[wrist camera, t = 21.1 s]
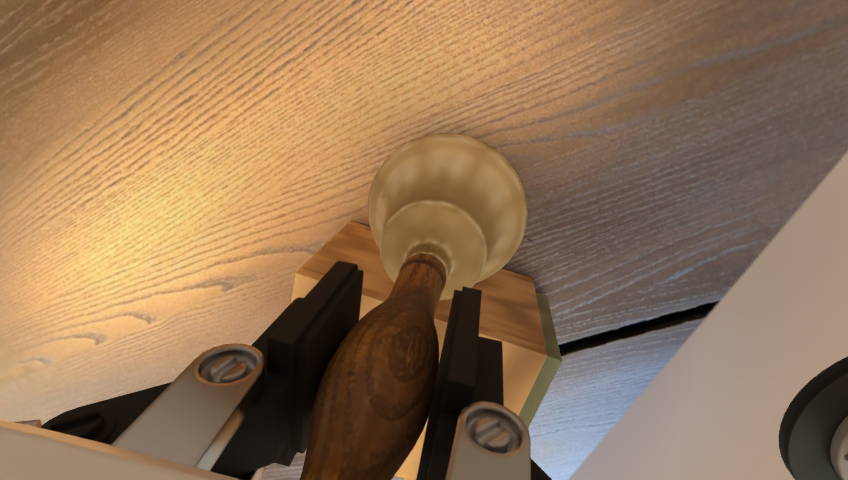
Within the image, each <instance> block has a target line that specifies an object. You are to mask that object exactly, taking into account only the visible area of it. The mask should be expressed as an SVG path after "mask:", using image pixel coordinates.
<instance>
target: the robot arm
mask: <svg viewBox="0 0 848 480" xmlns="http://www.w3.org/2000/svg"><path fill="white" fill-rule="evenodd" d="M363 276H364V273H363V270H358V265H357V264H353V263H348V262H343V261H339V260H338V261H337V262H336V263H335V264H334V265H333V266H332V267H331V268H330V270H329V271H328V272H327V273H326V274H325V275H324V276H323V277H322V278H321V280H320V281H319V282H318V283H317V284H316V285H315V286H314V287H313V288H312V289H311V291H310V292H309V293H308V294H307V295H306V296H305V297H304V298H302V297H298V298H296V299H295V300H294V301H293V302H292V303H291V304H290V305H289V306H288V307H287V308H286V309H285V310H284V312H283V313H282V314H281V315H280V316H279V317H278V318H277V319H276V320H275V321H274V322H273V323H272V324H271V325H270V326H269V327H268V329H267V330H266V331H265V332H264V333H263V334H262V335H261V336H260V337H259V338H258V339H257V340H256V341H255V342H254V343H253V344H252V346H249V345H246V344H236V343H235V344H225V345H221V346H217V347H214V348H212V349H209V350H207V351H205V352H203V353H202V354H201V355H200V356H198V357H197V358H196V359H195V360H194V361H193V362H192V363H191V364H190V365H189V366H188V367H187V368H186V369H185V370H184V371H183V372H182V373H181V374H180V375H179V376H178V377H177V378H176V379H175V380H174V381H173V382H171V383H167V384H164V385H160V386H156V387H152V388H149V389H145V390H141V391H138V392H134V393H130V394H126V395H123V396H119V397H115V398H112V399H108V400H104V401H100V402H97V403H93V404H89V405H86V406H82V407H78V408H76V409H73V410H70V411H67V412H64V413H62V414H60V415H58V416H56V417H55V418H53V419H51V420H49V421H48V422H46V423H45V424H44V425H41V421H40V420H31V421H21V422H10V421H5V420H0V480H261V479H262V477H263V474H264V471H265V466H267V465H270V464H272V463H278V464H282V465H286V466H290V464H291V462H292V460H293V458H294V456H295V455H296V453H297V452H299V453H304V452H305V450H306V448H307V445H308V434H309V425H310V419H311V414H312V409H313V405H314V400H315V397H316V393H317V390H318V386H319V383H320V381H321V379H322V376H323V374H324V372H325V369H326V367H327V365H328V363H329V361H330V360H331V358H332V356H333V355H334V353H335V352H336V350H337V348H338V347H339V345H340V343H341V342H342V341H343V339H344V338H345V337H346V335H347V334H348V333H349V332H350V330H351V329H352V328H353V327H354V325H355V324H356V323H357V322H358V321H359V316H360V306H361V296H362V286H363ZM481 295H482V290H478V289H474V288H469V287H464V286H463V288H462V291H459V290H454V294H453V299H452V304H451V309H450V314H449V318H448V323H447V328H446V333H445V338H444V342H443V347H442V352H441V357H440V362H439V366H438V371H437V376H436V381H435V386H434V391H433V396H432V402H431V407H430V412H429V417H428V422H427V427H426V432H425V437H424V443H423V448H422V453H421V458H420V463H419V468H418V473H417V478H416V480H552V479H551V478H550V477H549V476H548V475H547V474H546V473H545V472H544V471H543V470H542V469H541V468H540V467H539V466H538V465H537V464H536V463H535V462H534V461H533V460H532V459H531V458H530V436H529V431H528V429H527V427H526V425H525V423H524V422H523V420H522V419H521V418H520V417H519V416H518V415H517V414H516V413H514V412H513V411H511V410H510V409H508V408H507V407H505V406H504V393H503V346H502V341H498V340H493V339H489V338H484V337H480V336H479V322H480V308H481ZM830 456H831V462H832V465H833V467H834V469H835V471H836V473H837V474H838V475H839V476H840V478H841V479H842V480H848V415H847V416H846V418H845V419H844V420H843V421H842V423H841V424H840V425H839V426H838V428H837V430H836V432H835V434H834V436H833V438H832V442H831V447H830Z"/></svg>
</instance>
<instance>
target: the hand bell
mask: <svg viewBox="0 0 848 480" xmlns="http://www.w3.org/2000/svg"><path fill="white" fill-rule="evenodd" d="M368 218H369V224H370V228H371V232H372V234H373V237H374V239H375V241H376V243H377V245H378V247H379V248H380V256H381V260H382V264H383V266H384V269H385V270H386V272H387V274H388V275H389V277H390V278H391V279H392V281H393V282H394V283H395V284H394V286H393V288H392V291H391V293H390V295H389V297H388V298H387V299H386V300H385V301H384V302H383V303H381V304H379V305H378V306H376V307H375V308H373V309H372V310H370V311H369V312H368V313H367V314H366V315H364V316H363V317H362V318H361V319H360V320H359V321H358V322H357V323H356V324H355V325H354V327H353V328H352V329H351V330H350V332H349V333H348V334H347V335H346V337H345V338H344V339H343V341H342V342H341V343H340V345H339V347H338V348H337V350H336V352H335V353H334V355H333V356H332V358H331V360H330V361H329V363H328V365H327V367H326V369H325V372H324V374H323V376H322V379H321V381H320V383H319V386H318V390H317V393H316V397H315V400H314V405H313V409H312V414H311V419H310V425H309V434H308V445H307V451H306V457H305V462H304V466H303V471H302V474H301V478H300V480H391V479H392V478H393V476H394V475H395V474H396V472H397V471H398V470H399V468H400V467H401V466H402V464H403V463H404V461H405V460H406V458H407V457H408V455H409V454H410V452H411V451H412V450H413V448H414V446H415V444H416V443H417V441H418V439H419V437H420V435H421V433H422V431H423V429H424V427H425V424H426V422H427V419H428V417H429V412H430V407H431V402H432V396H433V391H434V386H435V381H436V376H437V371H438V366H439V342H438V336H437V331H436V328H435V324H434V313H435V310H436V307H437V305H438V302H439V300H446V299H451V298H453V294H454V290H459V291H462V288H463V286H464V287H469V288H471V287H472V286H473V285H474V284H475V283H477V282H480V281H482V280H484V279H486V278H488V277H490V276H492V275H493V274H495V273H496V272H498V271H499V270H500V269H501V268H503V267H504V266H505V265H506V264H507V263H508V262H509V260H510V259H511V258H512V257H513V256H514V254H515V253H516V251H517V250H518V248H519V246H520V244H521V242H522V239H523V237H524V234H525V230H526V225H527V220H528V207H527V200H526V195H525V191H524V188H523V185H522V183H521V180H520V178H519V176H518V175H517V173H516V171H515V170H514V168H513V167H512V166H511V164H510V163H509V162H508V161H507V159H506V158H505V157H504V156H502V155H501V154H500V153H499V152H497V151H496V150H495V149H494V148H492V147H490V146H489V145H487V144H485V143H483V142H481V141H479V140H477V139H475V138H471V137H468V136H465V135H459V134H452V133H439V134H432V135H427V136H423V137H420V138H417V139H414V140H412V141H410V142H408V143H406V144H404V145H403V146H401V147H400V148H398V149H397V150H396V151H395V152H393V153H392V154H391V155H390V156H389V157H388V158H387V159H386V160H385V161H384V163H383V164H382V165H381V167H380V168H379V170H378V172H377V174H376V176H375V178H374V180H373V182H372V185H371V188H370V192H369V197H368Z"/></svg>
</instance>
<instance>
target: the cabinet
mask: <svg viewBox="0 0 848 480" xmlns="http://www.w3.org/2000/svg"><path fill="white" fill-rule="evenodd" d="M338 260H339V261H343V262H348V263H353V264H357V265H358V270H363V273H364V276H363V286H362V296H361V306H360V316H359V320H360V319H361V318H362V317H363V316H364V315H366V314H367V313H368V312H369V311H370V310H372V309H373V308H375V307H376V306H378V305H379V304H381V303H383V302H384V301H385V300H386V299H387V298H388V297H389V295H390V293H391V291H392V288H393V286H394V284H395V283H394V282H393V281H392V279H391V278H390V277H389V275H388V274H387V272H386V270H385V269H384V266H383V264H382V260H381V256H380V248H379V247H378V245H377V243H376V241H375V239H374V237H373V234H372V232H371V228H370V226H367V225H363V224H360V223H357V222H354V221H351V222H350V223H348V224H347V225H346V226H345V227H344V228H343V229H342V230H341V231H340V232H339V233H338V234H337V235H335V236H334V237H333V238H332V239H331V240H330V241H329V242H328V243H327V244H326V245H325V246H324V247H323V248H321V249H320V250H319V251H318V252H317V253H316V254H315V255H314V256H313V257H312V258H311V259H310V260H309V261H308V262H306V263H305V264H304V265H303V266H302V268H300V269H299V270H298V271H297V272H296V273H295V279H294V285H293V291H292V297H291V303H292V302H293V301H294V300H295V299H296V298H298V297H302V298H304V297H305V296H306V295H307V294H308V293H309V292H310V291H311V289H312V288H313V287H314V286H315V285H316V284H317V283H318V282H319V281H320V280H321V278H322V277H323V276H324V275H325V274H326V273H327V272H328V271H329V270H330V268H331V267H332V266H333V265H334V264H335V263H336V262H337V261H338ZM471 288H474V289H478V290H482V295H481V308H480V322H479V336H480V337H484V338H489V339H493V340H498V341H502V346H503V393H504V406H505V407H507V408H508V409H510V410H511V411H513V412H514V413H516V414H517V415H519V413H520V411H521V409H522V407H523V405H524V403H525V401H526V399H527V397H528V395H529V393H530V391H531V389H532V386H533V384H534V382H535V380H536V378H537V376H538V374H539V372H540V370H541V368H542V366H543V364H544V362H545V360H546V357H547V351H546V345H545V340H544V335H543V329H542V324H541V319H540V314H539V308H538V303H537V298H536V292H535V287H534V282H533V278H530V277H527V276H524V275H521V274H517V273H514V272H511V271H508V270H505V269H502V268H501V269H500V270H499V271H498V272H496V273H495V274H493V275H492V276H490V277H488V278H486V279H484V280H482V281H480V282H477V283H475V284H474V285H473V286H472V287H471ZM452 299H453V298H451V299H446V300H439V302H438V305H437V307H436V310H435V313H434V324H435V328H436V331H437V336H438V342H439V362H440V357H441V352H442V347H443V342H444V338H445V333H446V328H447V323H448V318H449V314H450V309H451V304H452ZM291 303H290V304H291ZM427 422H428V419H427ZM427 422H426V424H425V427H424V429H423V431H422V433H421V435H420V437H419V439H418V441H417V443H416V444H415V446H414V448H413V450H412V451H411V452H410V454H409V455H408V457H407V458H406V460H405V461H404V463H403V464H402V466H401V467H400V468H399V470H398V471H397V472H396V474H395V475H394V476H397V477H400V478H403V479H405V480H416V478H417V473H418V468H419V463H420V458H421V453H422V448H423V443H424V437H425V432H426V427H427Z"/></svg>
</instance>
